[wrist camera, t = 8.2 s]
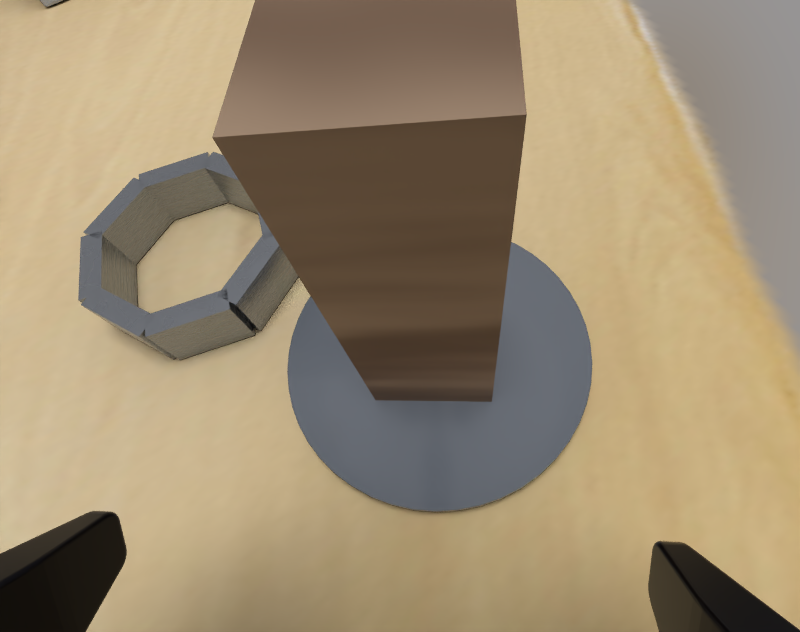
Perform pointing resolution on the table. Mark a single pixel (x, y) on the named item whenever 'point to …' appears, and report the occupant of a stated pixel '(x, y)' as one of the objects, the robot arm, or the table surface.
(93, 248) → the steel ring
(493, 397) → the slate coaster
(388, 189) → the walnut peg
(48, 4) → the coffee box
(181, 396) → the table surface
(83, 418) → the table surface
